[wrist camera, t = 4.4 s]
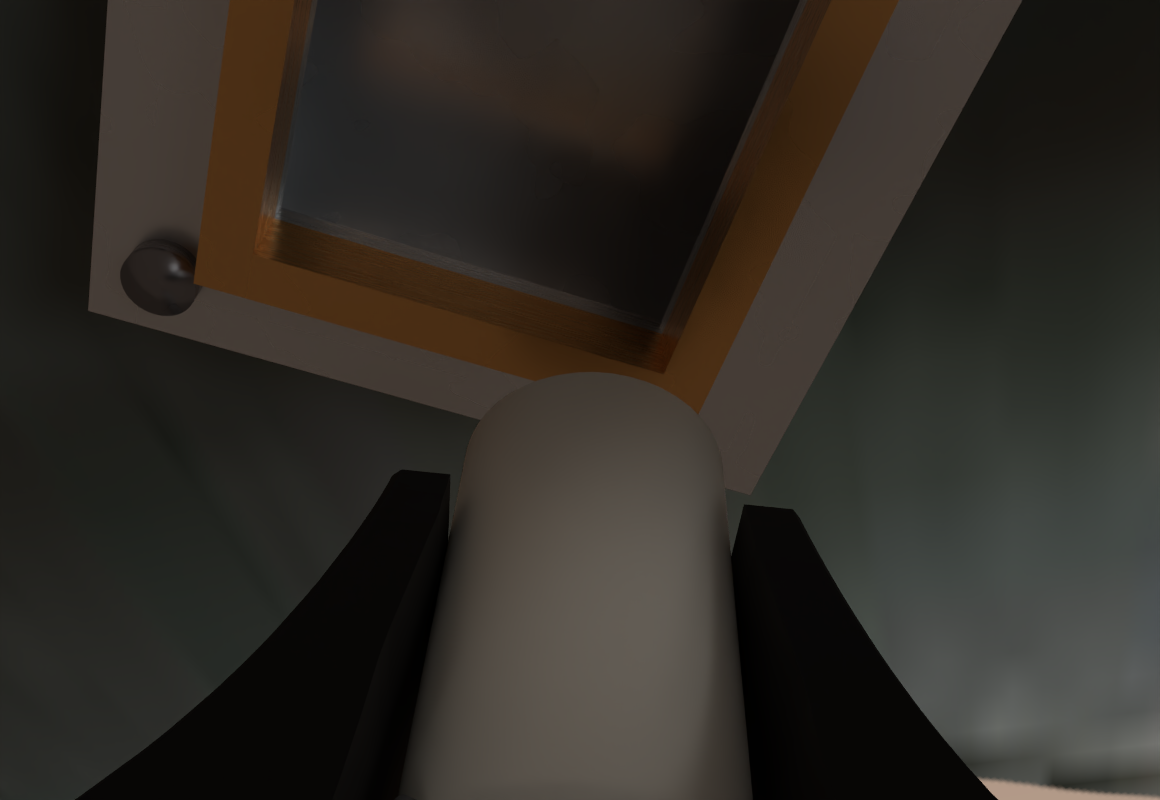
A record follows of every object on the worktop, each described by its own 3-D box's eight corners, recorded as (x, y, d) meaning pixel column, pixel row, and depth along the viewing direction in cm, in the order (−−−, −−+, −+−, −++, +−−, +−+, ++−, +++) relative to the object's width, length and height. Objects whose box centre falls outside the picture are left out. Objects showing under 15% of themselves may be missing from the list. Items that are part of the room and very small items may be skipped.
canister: (778, 462, 15) (851, 947, 10) (615, 601, 17) (602, 1072, 11) (553, 315, 14) (498, 784, 8) (404, 483, 15) (281, 953, 10)
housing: (1038, -243, 17) (1176, -195, 12) (734, 372, 23) (756, 540, 19) (253, -560, 15) (101, -630, 11) (170, 206, 22) (57, 349, 17)
